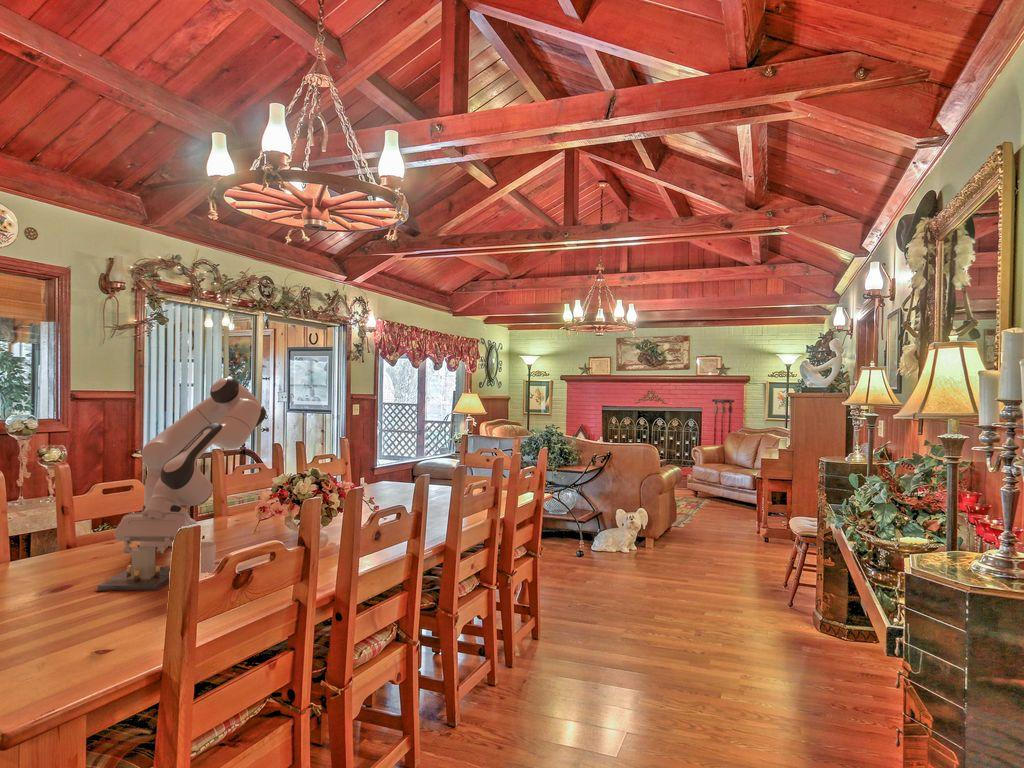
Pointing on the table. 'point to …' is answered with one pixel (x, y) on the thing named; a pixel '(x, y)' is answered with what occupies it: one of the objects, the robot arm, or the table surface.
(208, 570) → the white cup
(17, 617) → the table surface
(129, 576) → the chassis
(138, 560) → the block
